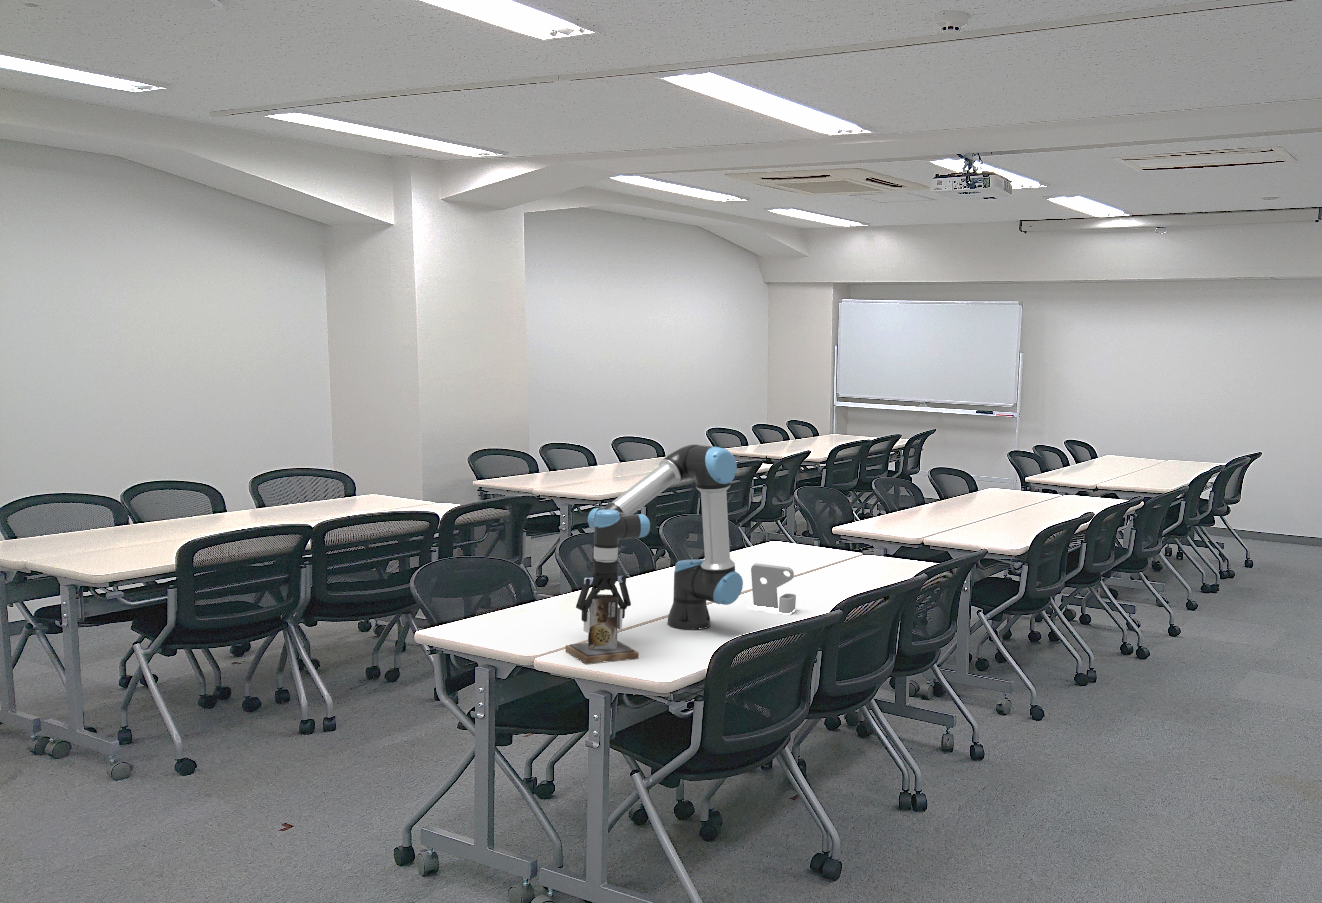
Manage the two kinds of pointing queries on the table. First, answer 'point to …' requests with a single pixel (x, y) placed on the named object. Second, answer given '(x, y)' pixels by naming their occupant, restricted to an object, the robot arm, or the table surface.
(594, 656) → the tray
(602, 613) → the coffee box
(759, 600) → the grey bracket with cup
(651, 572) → the table surface
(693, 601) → the robot arm
